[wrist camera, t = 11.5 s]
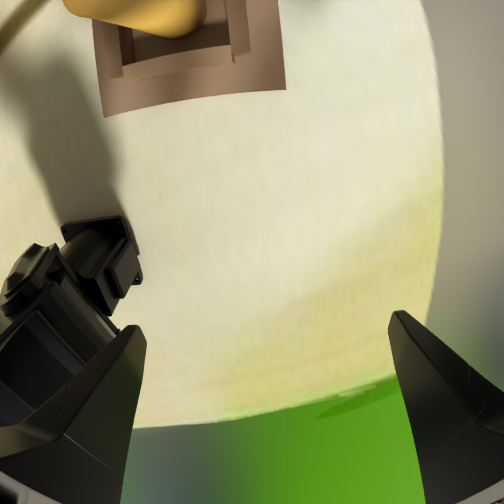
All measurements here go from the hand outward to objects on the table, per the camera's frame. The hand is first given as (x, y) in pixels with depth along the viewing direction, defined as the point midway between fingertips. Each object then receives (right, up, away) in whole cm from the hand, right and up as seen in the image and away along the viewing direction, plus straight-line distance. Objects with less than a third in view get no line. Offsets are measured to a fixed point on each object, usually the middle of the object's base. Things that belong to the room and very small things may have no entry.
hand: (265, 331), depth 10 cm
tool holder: (-5, +18, +4) cm, 19 cm away
